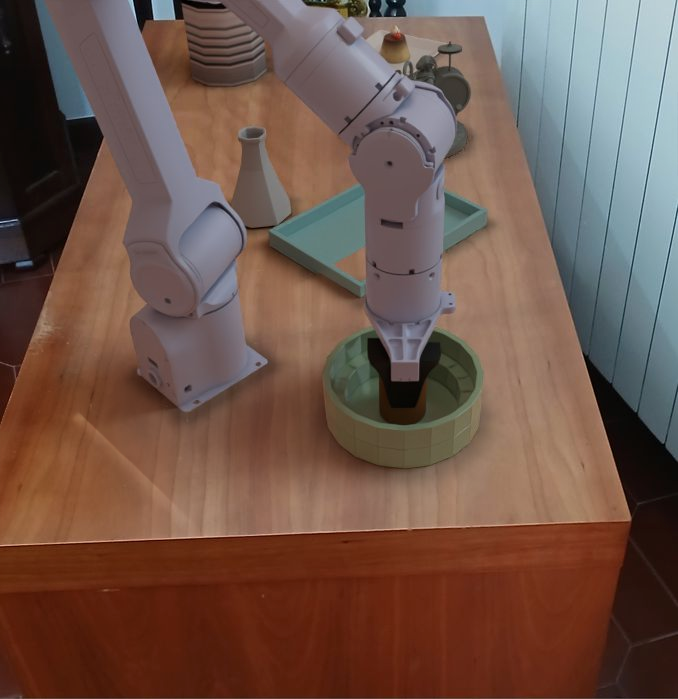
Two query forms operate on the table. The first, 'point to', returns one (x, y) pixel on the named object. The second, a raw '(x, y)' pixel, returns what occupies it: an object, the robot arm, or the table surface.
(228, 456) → the table surface
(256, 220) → the flask
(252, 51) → the can
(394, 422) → the brown cylinder
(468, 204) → the tray
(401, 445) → the bowl
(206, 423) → the table surface
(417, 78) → the figurine
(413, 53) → the dessert
